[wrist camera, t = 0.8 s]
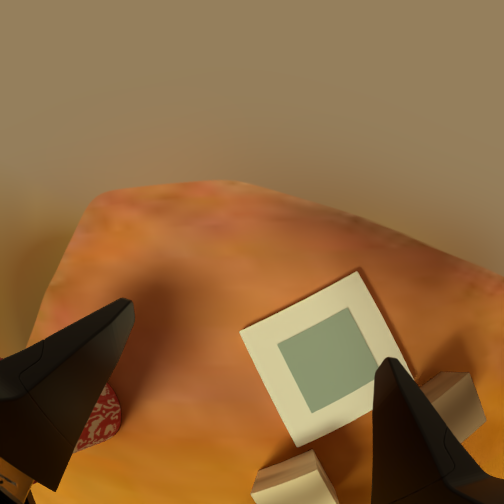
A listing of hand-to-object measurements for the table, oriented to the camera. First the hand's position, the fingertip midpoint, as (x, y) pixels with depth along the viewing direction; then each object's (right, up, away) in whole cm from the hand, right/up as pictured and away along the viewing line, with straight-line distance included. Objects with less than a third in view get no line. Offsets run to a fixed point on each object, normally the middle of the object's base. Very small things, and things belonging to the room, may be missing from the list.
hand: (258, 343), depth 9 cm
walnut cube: (+15, -11, +10) cm, 21 cm away
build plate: (+6, -6, +13) cm, 16 cm away
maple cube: (+4, -16, +10) cm, 20 cm away
